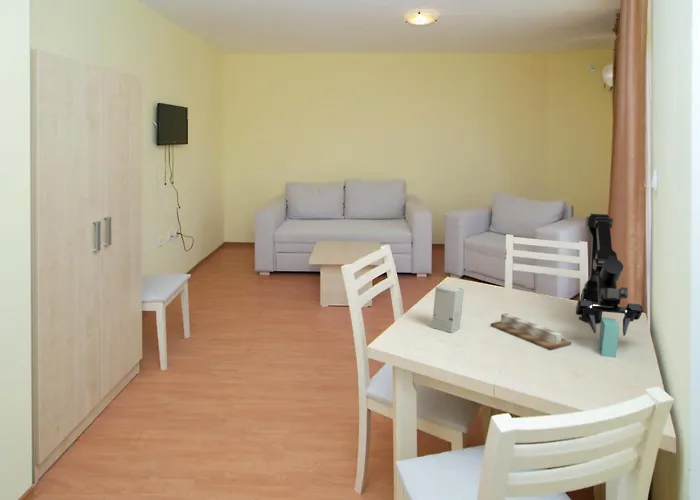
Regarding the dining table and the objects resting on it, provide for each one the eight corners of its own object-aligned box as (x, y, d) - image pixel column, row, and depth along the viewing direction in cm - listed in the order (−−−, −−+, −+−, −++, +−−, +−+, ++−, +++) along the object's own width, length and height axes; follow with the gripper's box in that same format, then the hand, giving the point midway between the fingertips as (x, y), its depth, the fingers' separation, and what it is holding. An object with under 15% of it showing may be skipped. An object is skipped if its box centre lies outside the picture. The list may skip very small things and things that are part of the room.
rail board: (490, 326, 208) (491, 315, 207) (511, 321, 213) (511, 311, 212) (549, 350, 186) (550, 338, 185) (571, 344, 191) (572, 333, 190)
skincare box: (431, 328, 205) (433, 286, 202) (440, 323, 209) (443, 283, 206) (452, 333, 200) (455, 291, 197) (461, 329, 204) (464, 287, 201)
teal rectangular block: (597, 347, 189) (601, 317, 187) (611, 348, 188) (614, 318, 186) (601, 355, 182) (605, 324, 180) (615, 357, 181) (619, 326, 179)
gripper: (580, 274, 187) (581, 319, 178) (645, 279, 182) (649, 324, 174) (575, 292, 196) (576, 335, 187) (636, 297, 191) (640, 341, 183)
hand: (609, 333), depth 183 cm, fingers open, 8 cm apart
